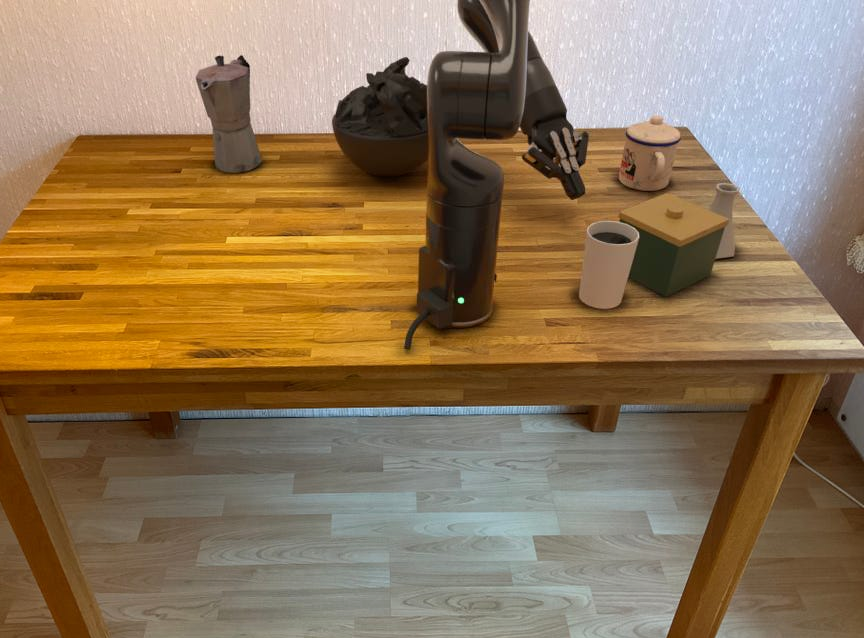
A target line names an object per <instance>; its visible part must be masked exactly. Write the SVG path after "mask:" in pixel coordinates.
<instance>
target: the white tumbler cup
mask: <svg viewBox="0 0 864 638" xmlns="http://www.w3.org/2000/svg"><path fill="white" fill-rule="evenodd" d="M638 240H639V232H638V231H637V230H636V229H635V228H633V227H631V226H629V225H627V224H624V223H620V221H614V220H600V221H596V222H592V223H591V224H590V225H589V226H588V227H587V228H586V236H585V244H584V251H583V260H582V267H581V273H580V274H581V275H580V284H579V290H578V291H579V292H578V298H579V299H580V301H581V302H582V303H583V304H585V305H587V306H588V307H592V308H595V309H602V310H605V309H606V310H607V309H614V308H616V307H618V306H619V305H620V304H621V303H622V300H623V297H624V293H625V289H626V286H627V282H628V279H629V277H628V276H629V272H630V269H631V265H632V261H633V258H634V254H635V251H636V247H637V244H638Z"/></svg>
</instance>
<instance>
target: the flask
mask: <svg viewBox="0 0 864 638" xmlns="http://www.w3.org/2000/svg"><path fill="white" fill-rule="evenodd" d="M715 191H716V194H715V197H714V199H713V201H712V203H711V205H710V207H709V208H708V210H709V211H712V212H714V213H716V214H719V215H721V216H723V217H726V218H728V219H729V223H728V225H727V226H725V229H724V232H723V235H722V239H721V242H720V245H719V248H718V252H717V255H716V258H715V260H717V259H724V258H725V259H726V258H731V257H734V256H735V251H736V250H735V249H736V243H735V242H736V241H735V232H734V223H733V222H734V219H733V209H734V201H735V198H736V196H737V195H738V194H739V191H740V187H739V186H737V185H736V184H735V183H729V182H720V183H716V187H715Z"/></svg>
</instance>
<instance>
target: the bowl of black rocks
mask: <svg viewBox="0 0 864 638" xmlns="http://www.w3.org/2000/svg"><path fill="white" fill-rule="evenodd" d="M410 61H411V60H410V58H409V57H408V56H404V57H401V58H399V59H397V60H396V61H394V62H391V63H389V65H388V66H386V67H385V68H384V70H383V71H379V70H378V71H376V72H375V74H373V73H372V72H366V73H365V77H366V82H367V83H368V86H364V85H361V86H358V87H356V88H354V89H353V90H350V92H349V93H348V94H347V95H346V96H344V97H343V98H342V99H340V100H338V103H337V106H336V110H335V113H334V114H333V116H332V119H331V126H332V131H333V135H334V138H335V141H336V143H337V145H338V147H339V148H340V150H341V152H342V153H343V155H344V156H345V158H347V159H348V160H349V161H350V162H351V163H352V164H353V165H354V166H355V167H357V168H358V169H361V170H362V171H364V172H365V173H368V174H371V175H374V176H379V177H387V178H389V177H397V176H402V175H406V174H408V173H411V172H413V171H415V170H416V169H418V168H419V167H421V166H422V165H424V164H425V163H426V162H428V125H427V84H425V83H424V82H421V81H420V80H418V79H417V78H415V77H414V76H410V77H409V76H408V75H407V74H406V67H407V66H408V65H409V63H410Z"/></svg>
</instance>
